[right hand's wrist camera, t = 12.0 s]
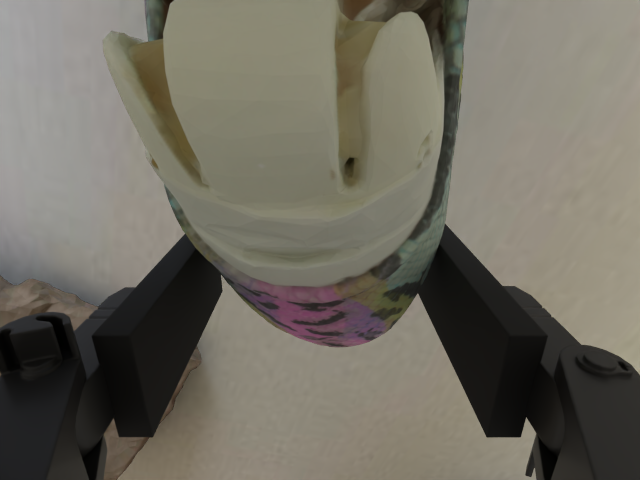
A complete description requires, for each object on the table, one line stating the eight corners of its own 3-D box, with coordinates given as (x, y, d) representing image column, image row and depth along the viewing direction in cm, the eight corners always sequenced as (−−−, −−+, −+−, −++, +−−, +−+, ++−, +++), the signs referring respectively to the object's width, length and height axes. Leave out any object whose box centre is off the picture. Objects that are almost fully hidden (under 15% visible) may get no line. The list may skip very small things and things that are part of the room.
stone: (-186, 387, 25) (-300, 459, 20) (-100, 193, 24) (-197, 211, 18) (131, 460, 33) (113, 527, 27) (211, 316, 31) (211, 356, 26)
